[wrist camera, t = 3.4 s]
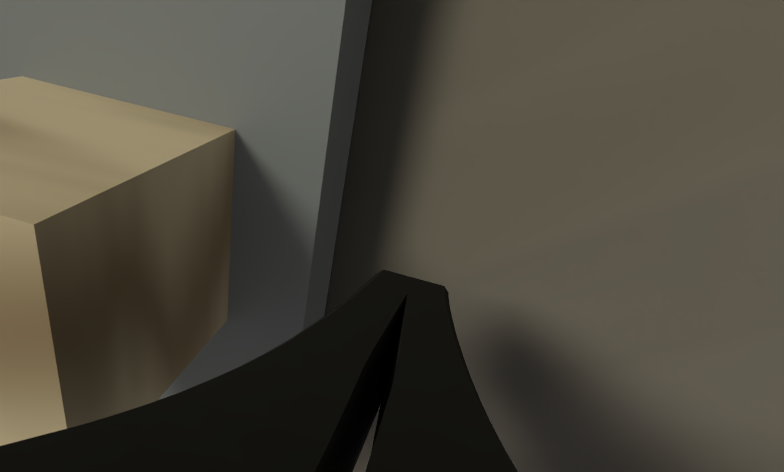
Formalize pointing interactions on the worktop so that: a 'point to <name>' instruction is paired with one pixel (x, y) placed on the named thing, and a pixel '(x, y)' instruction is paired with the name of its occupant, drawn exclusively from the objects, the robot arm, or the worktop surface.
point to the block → (104, 253)
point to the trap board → (233, 110)
